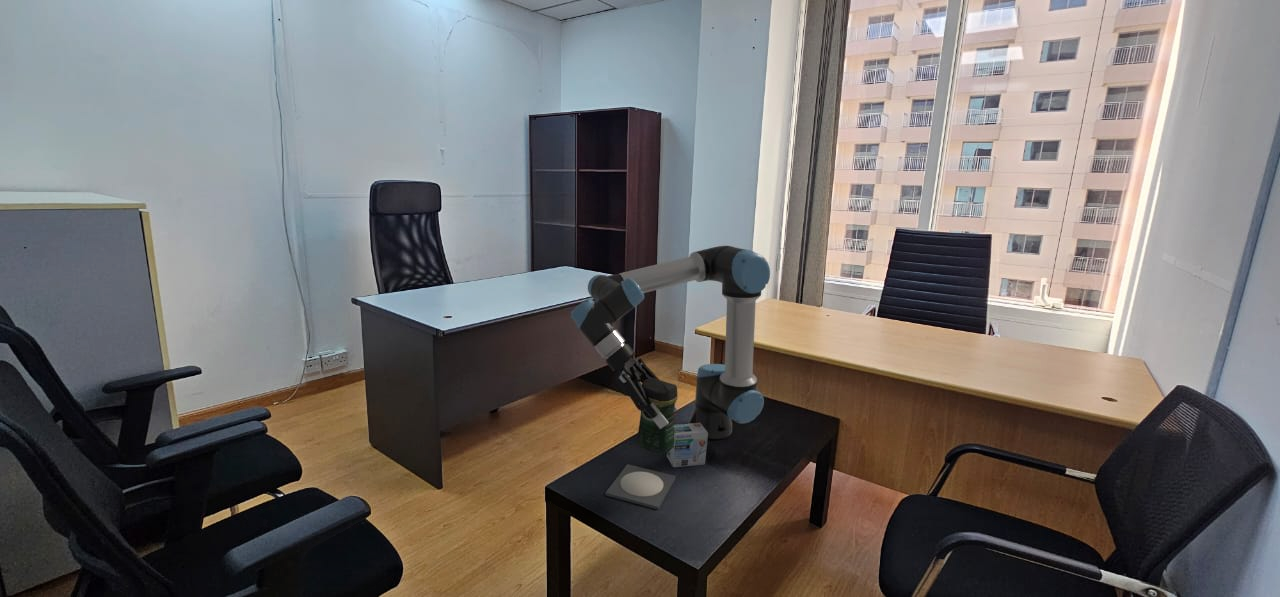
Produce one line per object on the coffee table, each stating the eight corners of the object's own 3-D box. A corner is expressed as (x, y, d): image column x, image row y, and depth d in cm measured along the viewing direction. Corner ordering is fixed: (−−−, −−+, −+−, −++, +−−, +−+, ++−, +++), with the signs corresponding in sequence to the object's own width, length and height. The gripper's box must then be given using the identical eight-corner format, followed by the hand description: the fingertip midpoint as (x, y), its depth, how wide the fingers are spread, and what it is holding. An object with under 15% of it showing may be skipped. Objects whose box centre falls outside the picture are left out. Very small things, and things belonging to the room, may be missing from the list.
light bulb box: (672, 468, 158) (675, 435, 155) (665, 456, 164) (668, 424, 162) (706, 464, 161) (709, 432, 158) (698, 453, 167) (700, 422, 165)
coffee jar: (678, 447, 142) (683, 382, 138) (661, 458, 136) (666, 390, 132) (649, 435, 148) (653, 372, 144) (631, 445, 142) (635, 380, 137)
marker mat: (627, 466, 157) (627, 463, 157) (675, 478, 152) (675, 475, 152) (605, 495, 143) (605, 492, 142) (658, 509, 138) (658, 506, 137)
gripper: (619, 347, 151) (669, 410, 150) (589, 371, 132) (646, 443, 131) (638, 332, 149) (689, 396, 147) (610, 354, 129) (668, 428, 128)
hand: (669, 418), depth 139 cm, fingers closed on coffee jar, 8 cm apart
